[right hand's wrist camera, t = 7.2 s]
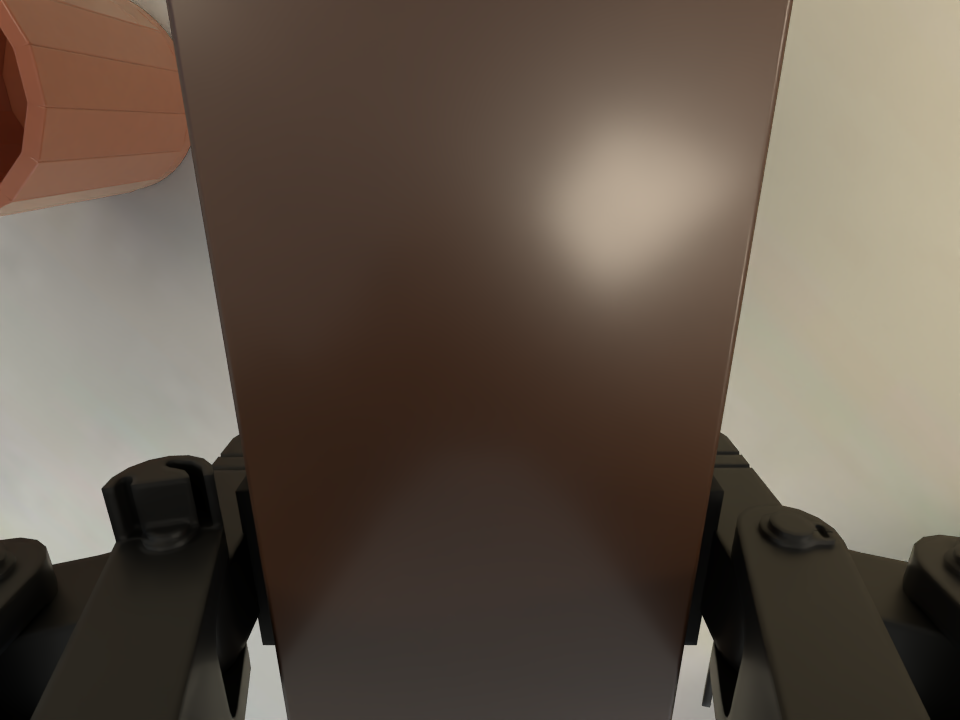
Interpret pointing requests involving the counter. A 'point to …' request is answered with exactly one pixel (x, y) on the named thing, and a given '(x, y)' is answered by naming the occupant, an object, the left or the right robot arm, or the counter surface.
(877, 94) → the counter surface
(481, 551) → the walnut bar
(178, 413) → the counter surface
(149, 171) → the terracotta cup
